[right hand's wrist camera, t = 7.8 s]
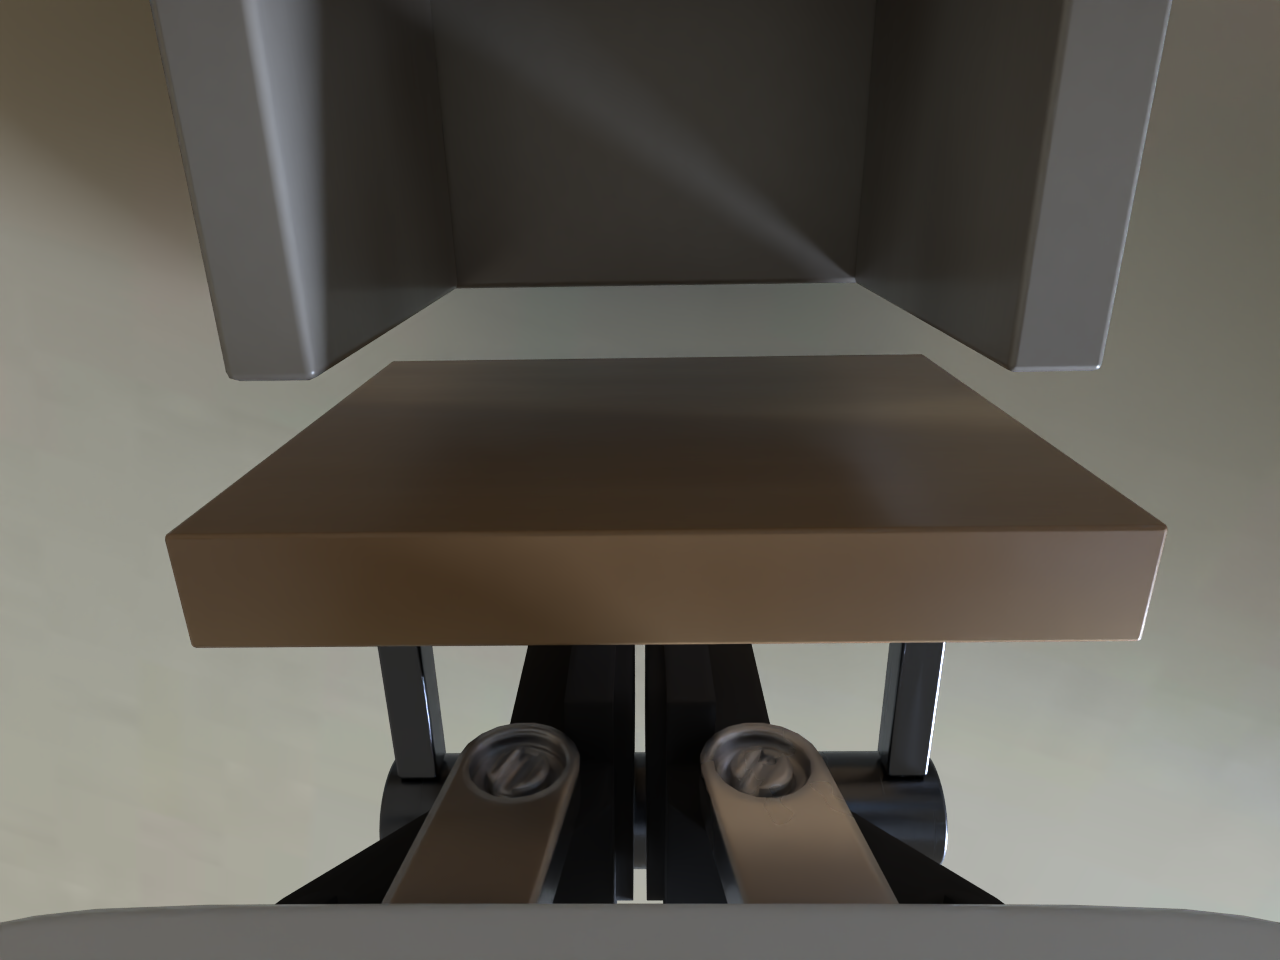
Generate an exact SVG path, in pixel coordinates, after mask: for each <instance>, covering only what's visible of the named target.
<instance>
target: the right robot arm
mask: <svg viewBox="0 0 1280 960" xmlns="http://www.w3.org/2000/svg"><path fill="white" fill-rule="evenodd" d="M634 760H635V645H528V649H527V653H526V657H525V662H524V666H523V670H522V675H521V679H520V683H519V688H518V692H517V696H516V701H515V705H514V709H513V714H512V718H511V722H510V724H509V725H504V726H499V727H496V728H494V729H492V730H489V731H487V732H485V733H482V734H481V735H479V736H478V737H477V738H475V739H474V740H473V741H471V742H470V743H469V744H468V745H467V746H466V747H465V748H464V750H463V751H462V752H461V754H460V755H459V756H458V758H457V760H456V762H455V764H454V766H453V768H452V770H451V772H450V774H449V775H448V777H447V779H446V781H445V783H444V785H443V787H442V789H441V791H440V793H439V794H438V796H437V798H436V800H435V802H434V804H433V806H432V808H431V810H430V811H428V812H426V813H425V814H423V815H421V816H420V817H418V818H416V819H415V820H413V821H411V822H410V823H408V824H406V825H405V826H403V827H401V828H400V829H398V830H396V831H395V832H393V833H391V834H390V835H388V836H386V837H385V838H383V839H381V840H380V841H378V842H376V843H375V844H373V845H371V846H370V847H368V848H366V849H365V850H363V851H361V852H360V853H358V854H356V855H355V856H353V857H351V858H350V859H348V860H346V861H345V862H343V863H341V864H340V865H338V866H336V867H335V868H333V869H331V870H330V871H328V872H326V873H325V874H323V875H321V876H320V877H318V878H316V879H315V880H313V881H311V882H310V883H308V884H306V885H305V886H303V887H301V888H300V889H298V890H296V891H295V892H293V893H291V894H290V895H288V896H286V897H285V898H283V899H282V900H280V901H279V902H278V903H276V904H272V905H191V906H164V907H138V908H111V909H92V910H83V911H74V912H65V913H56V914H47V915H38V916H32V917H27V918H22V919H17V920H12V921H7V922H2V923H0V960H1280V923H1278V922H1273V921H1268V920H1263V919H1258V918H1253V917H1248V916H1242V915H1233V914H1224V913H1215V912H1206V911H1197V910H1188V909H1169V908H1142V907H1116V906H1089V905H1008V904H1004V903H1002V902H1001V901H1000V900H998V899H997V898H995V897H994V896H992V895H990V894H989V893H987V892H985V891H984V890H982V889H980V888H979V887H977V886H975V885H974V884H972V883H970V882H969V881H967V880H965V879H964V878H962V877H960V876H959V875H957V874H955V873H954V872H952V871H950V870H949V869H947V868H945V867H944V866H942V865H940V864H939V863H937V862H935V861H934V860H932V859H930V858H929V857H927V856H925V855H924V854H922V853H920V852H919V851H917V850H915V849H914V848H912V847H910V846H909V845H907V844H905V843H904V842H902V841H900V840H899V839H897V838H895V837H894V836H892V835H890V834H889V833H887V832H885V831H884V830H882V829H880V828H879V827H877V826H875V825H874V824H872V823H870V822H869V821H867V820H865V819H864V818H862V817H860V816H859V815H857V814H855V813H854V812H852V811H850V810H849V808H848V806H847V804H846V802H845V800H844V798H843V796H842V794H841V793H840V791H839V789H838V787H837V785H836V783H835V781H834V779H833V777H832V775H831V774H830V772H829V770H828V768H827V766H826V764H825V762H824V760H823V758H822V756H821V755H820V754H819V752H818V751H817V750H816V748H815V747H814V746H813V745H812V744H811V743H810V742H809V741H807V740H806V739H805V738H803V737H802V736H801V735H799V734H798V733H795V732H793V731H791V730H788V729H786V728H784V727H781V726H776V725H771V724H770V722H769V718H768V714H767V709H766V705H765V701H764V696H763V692H762V688H761V683H760V679H759V675H758V670H757V666H756V662H755V657H754V653H753V649H752V644H645V760H646V867H647V900H663V904H617V900H633V867H634Z"/></svg>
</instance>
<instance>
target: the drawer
mask: <svg viewBox="0 0 1280 960" xmlns="http://www.w3.org/2000/svg"><path fill="white" fill-rule="evenodd" d="M150 5H151V10H152V15H153V20H154V25H155V30H156V34H157V39H158V44H159V49H160V54H161V59H162V63H163V68H164V73H165V78H166V83H167V88H168V93H169V97H170V102H171V107H172V112H173V117H174V122H175V126H176V131H177V136H178V141H179V146H180V151H181V156H182V160H183V165H184V170H185V175H186V180H187V185H188V190H189V194H190V199H191V204H192V209H193V214H194V219H195V223H196V228H197V233H198V238H199V243H200V248H201V253H202V257H203V262H204V267H205V272H206V277H207V282H208V286H209V291H210V296H211V301H212V306H213V311H214V316H215V320H216V325H217V330H218V335H219V340H220V345H221V350H222V354H223V359H224V364H225V369H226V373H227V374H228V376H229V378H231V379H235V380H238V381H275V380H310V379H313V378H315V377H317V376H318V375H320V374H322V373H323V372H325V371H326V370H328V369H329V368H331V367H333V366H334V365H336V364H337V363H339V362H340V361H342V360H344V359H345V358H347V357H348V356H350V355H351V354H353V353H355V352H356V351H358V350H359V349H361V348H362V347H364V346H366V345H367V344H369V343H370V342H372V341H373V340H375V339H377V338H378V337H380V336H381V335H383V334H385V333H386V332H388V331H389V330H391V329H392V328H394V327H396V326H397V325H399V324H400V323H402V322H403V321H405V320H407V319H408V318H410V317H411V316H413V315H414V314H416V313H418V312H419V311H421V310H422V309H424V308H425V307H427V306H429V305H430V304H432V303H433V302H435V301H436V300H438V299H440V298H441V297H443V296H444V295H446V294H447V293H449V292H451V291H452V290H454V289H455V288H508V287H575V286H642V285H709V284H776V283H842V282H856V283H858V284H860V285H862V286H863V287H865V288H867V289H869V290H870V291H872V292H874V293H875V294H877V295H879V296H881V297H882V298H884V299H886V300H888V301H889V302H891V303H893V304H895V305H896V306H898V307H900V308H902V309H903V310H905V311H907V312H909V313H910V314H912V315H914V316H916V317H917V318H919V319H921V320H922V321H924V322H926V323H928V324H929V325H931V326H933V327H935V328H936V329H938V330H940V331H942V332H943V333H945V334H947V335H949V336H950V337H952V338H954V339H956V340H957V341H959V342H961V343H963V344H964V345H966V346H968V347H970V348H971V349H973V350H975V351H976V352H978V353H980V354H982V355H983V356H985V357H987V358H989V359H990V360H992V361H994V362H996V363H997V364H999V365H1001V366H1003V367H1004V368H1006V369H1008V370H1010V371H1013V372H1028V371H1092V370H1096V369H1099V368H1100V366H1101V365H1102V360H1103V355H1104V350H1105V345H1106V340H1107V335H1108V330H1109V324H1110V319H1111V314H1112V309H1113V304H1114V299H1115V294H1116V288H1117V283H1118V278H1119V273H1120V268H1121V263H1122V257H1123V252H1124V247H1125V242H1126V237H1127V232H1128V227H1129V221H1130V216H1131V211H1132V206H1133V201H1134V196H1135V190H1136V185H1137V180H1138V175H1139V170H1140V165H1141V160H1142V154H1143V149H1144V144H1145V139H1146V134H1147V129H1148V123H1149V118H1150V113H1151V108H1152V103H1153V98H1154V93H1155V87H1156V82H1157V77H1158V72H1159V67H1160V62H1161V57H1162V51H1163V46H1164V41H1165V36H1166V31H1167V26H1168V20H1169V15H1170V10H1171V5H1172V0H150ZM1167 531H1168V530H1167V526H1166V525H1165V524H1164V523H1163V522H1161V521H1160V520H1158V519H1157V518H1155V517H1154V516H1153V515H1151V514H1150V513H1148V512H1147V511H1145V510H1144V509H1143V508H1141V507H1140V506H1138V505H1137V504H1135V503H1134V502H1133V501H1131V500H1130V499H1128V498H1127V497H1125V496H1124V495H1123V494H1121V493H1120V492H1118V491H1117V490H1115V489H1114V488H1113V487H1111V486H1110V485H1108V484H1107V483H1105V482H1104V481H1103V480H1101V479H1100V478H1098V477H1097V476H1095V475H1094V474H1093V473H1091V472H1090V471H1088V470H1087V469H1085V468H1084V467H1082V466H1081V465H1080V464H1078V463H1077V462H1075V461H1074V460H1072V459H1071V458H1070V457H1068V456H1067V455H1065V454H1064V453H1062V452H1061V451H1060V450H1058V449H1057V448H1055V447H1054V446H1052V445H1051V444H1050V443H1048V442H1047V441H1045V440H1044V439H1042V438H1041V437H1040V436H1038V435H1037V434H1035V433H1034V432H1032V431H1031V430H1030V429H1028V428H1027V427H1025V426H1024V425H1022V424H1021V423H1020V422H1018V421H1017V420H1015V419H1014V418H1012V417H1011V416H1010V415H1008V414H1007V413H1005V412H1004V411H1002V410H1001V409H1000V408H998V407H997V406H995V405H994V404H992V403H991V402H990V401H988V400H987V399H985V398H984V397H982V396H981V395H980V394H978V393H977V392H975V391H974V390H972V389H971V388H970V387H968V386H967V385H965V384H964V383H962V382H961V381H960V380H958V379H957V378H955V377H954V376H952V375H951V374H950V373H948V372H947V371H945V370H944V369H942V368H941V367H940V366H938V365H937V364H935V363H934V362H932V361H931V360H930V359H928V358H927V357H925V356H924V355H922V354H913V355H839V356H764V357H689V358H615V359H540V360H466V361H394V362H392V363H390V364H389V365H388V366H386V367H385V368H384V369H382V370H381V371H380V372H379V373H377V374H376V375H375V376H373V377H372V378H371V379H369V380H368V381H367V382H365V383H364V384H363V385H362V386H360V387H359V388H358V389H356V390H355V391H354V392H352V393H351V394H350V395H348V396H347V397H346V398H345V399H343V400H342V401H341V402H339V403H338V404H337V405H335V406H334V407H333V408H331V409H330V410H329V411H328V412H326V413H325V414H324V415H322V416H321V417H320V418H318V419H317V420H316V421H314V422H313V423H312V424H311V425H309V426H308V427H307V428H305V429H304V430H303V431H301V432H300V433H299V434H297V435H296V436H295V437H294V438H292V439H291V440H290V441H288V442H287V443H286V444H284V445H283V446H282V447H280V448H279V449H278V450H277V451H275V452H274V453H273V454H271V455H270V456H269V457H267V458H266V459H265V460H263V461H262V462H261V463H260V464H258V465H257V466H256V467H254V468H253V469H252V470H250V471H249V472H248V473H246V474H245V475H244V476H243V477H241V478H240V479H239V480H237V481H236V482H235V483H233V484H232V485H231V486H229V487H228V488H227V489H226V490H224V491H223V492H222V493H220V494H219V495H218V496H216V497H215V498H214V499H212V500H211V501H210V502H209V503H207V504H206V505H205V506H203V507H202V508H201V509H199V510H198V511H197V512H195V513H194V514H193V515H192V516H190V517H189V518H188V519H186V520H185V521H184V522H182V523H181V524H180V525H178V526H177V527H176V528H175V529H173V530H172V531H171V532H169V533H168V534H167V535H166V537H165V541H166V545H167V549H168V553H169V557H170V561H171V565H172V569H173V573H174V577H175V581H176V585H177V589H178V593H179V597H180V600H181V604H182V608H183V612H184V616H185V620H186V624H187V628H188V632H189V636H190V640H191V644H192V646H193V647H196V648H230V647H367V646H378V652H379V658H380V664H381V671H382V677H383V684H384V690H385V696H386V703H387V709H388V715H389V722H390V728H391V735H392V741H393V747H394V754H395V761H394V763H393V764H392V766H391V769H390V771H389V774H388V777H387V780H386V783H385V787H384V792H383V797H382V803H381V811H380V829H379V832H380V840H381V839H383V838H385V837H386V836H388V835H390V834H391V833H393V832H395V831H396V830H398V829H400V828H401V827H403V826H405V825H406V824H408V823H410V822H411V821H413V820H415V819H416V818H418V817H420V816H421V815H423V814H425V813H426V812H428V811H430V810H431V808H432V806H433V804H434V802H435V800H436V798H437V796H438V794H439V793H440V791H441V789H442V787H443V785H444V783H445V781H446V779H447V777H448V775H449V774H450V772H451V770H452V768H453V766H454V764H455V762H456V760H457V758H458V756H459V755H460V754H461V753H446V750H445V742H444V734H443V726H442V719H441V711H440V703H439V695H438V687H437V680H436V672H435V664H434V656H433V648H432V646H505V645H643V644H781V643H890V644H889V653H888V662H887V671H886V680H885V689H884V698H883V707H882V716H881V725H880V734H879V743H878V751H818V752H819V754H820V755H821V756H822V758H823V760H824V762H825V764H826V766H827V768H828V770H829V772H830V774H831V775H832V777H833V779H834V781H835V783H836V785H837V787H838V789H839V791H840V793H841V794H842V796H843V798H844V800H845V802H846V804H847V806H848V808H849V810H850V811H852V812H854V813H855V814H857V815H859V816H860V817H862V818H864V819H865V820H867V821H869V822H870V823H872V824H874V825H875V826H877V827H879V828H880V829H882V830H884V831H885V832H887V833H889V834H890V835H892V836H894V837H895V838H897V839H899V840H900V841H902V842H904V843H905V844H907V845H909V846H910V847H912V848H914V849H915V850H917V851H919V852H920V853H922V854H924V855H925V856H927V857H929V858H930V859H932V860H934V861H935V862H937V863H939V864H940V865H941V864H942V862H943V860H944V857H945V854H946V848H947V836H948V827H947V813H946V805H945V799H944V794H943V790H942V786H941V782H940V779H939V776H938V773H937V771H936V768H935V766H934V764H933V762H932V760H931V759H930V750H931V743H932V736H933V729H934V722H935V715H936V707H937V700H938V693H939V686H940V679H941V672H942V665H943V658H944V651H945V643H946V642H1057V641H1138V640H1140V639H1141V638H1142V634H1143V630H1144V625H1145V621H1146V617H1147V613H1148V609H1149V605H1150V601H1151V597H1152V592H1153V588H1154V584H1155V580H1156V576H1157V572H1158V568H1159V564H1160V559H1161V555H1162V551H1163V547H1164V543H1165V539H1166V535H1167ZM633 869H647V867H646V760H645V752H635V760H634V867H633Z"/></svg>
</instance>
